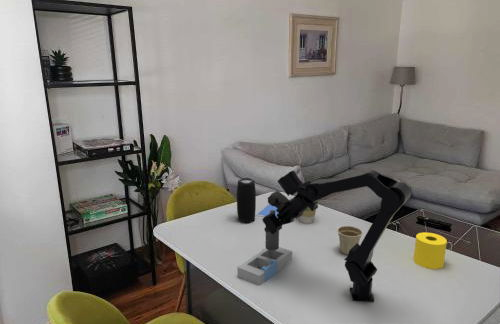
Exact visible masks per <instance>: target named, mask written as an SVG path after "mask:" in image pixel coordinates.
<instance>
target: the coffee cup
mask: <svg viewBox="0 0 500 324" xmlns="http://www.w3.org/2000/svg"><path fill="white" fill-rule="evenodd" d="M297 194H298V193H296V195H297ZM316 211H317V209H315V210H314V211H311V209H310V208H307V209H306V210H305V211H304V212H303V215H302V216H300V217H299V221H300V223H302V224H305V225H308V224H309V225H310V224H313V223H314V221H315V216H316Z"/></svg>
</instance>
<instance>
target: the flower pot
mask: <svg viewBox="0 0 500 324" xmlns="http://www.w3.org/2000/svg"><path fill="white" fill-rule="evenodd" d="M336 230H337V233H338V237H339V238H338V239H339V249H340V250H339V251H340V252H341V253H342V254H344V255H346V256H348V253H349V251H350V249H351V248H352V247H353V246H354V245H356V244H357V243H358V244H359V245H360V239H361V237H362V235H363V234H364V232H363V230H362V229H360V228H358V227H356V226H351V225H344V226H343V225H342V226H339V227H338V228H337V229H336Z"/></svg>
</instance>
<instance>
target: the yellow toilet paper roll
mask: <svg viewBox="0 0 500 324" xmlns="http://www.w3.org/2000/svg"><path fill="white" fill-rule="evenodd" d="M447 242H448V241H447V238H445V237H444V236H442V235H440V234H438V233H433V232H426V231H425V232H424V231H423V232H419V233H417V234H416V236H415V243H414V250H413V251H414V253H413V261H414V264H416V265H418V266H419V267H422V268H425V269H430V270H439V269H442V268H443V267H444V264H445V257H446V251H447Z"/></svg>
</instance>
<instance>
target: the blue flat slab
mask: <svg viewBox="0 0 500 324" xmlns="http://www.w3.org/2000/svg"><path fill="white" fill-rule="evenodd" d="M276 209H277V208H276V207H275V206H271V205H270V204H269V203H268V204H267V205H266V206H265V207H263V208H262V209H261V210H260V211H258V212H256V213H255V217H261V218H264V217H265V216H267V215H268V214H270V210H275V215H276V217H277V214H278V212H277V211H276ZM277 218H278V217H277Z"/></svg>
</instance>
